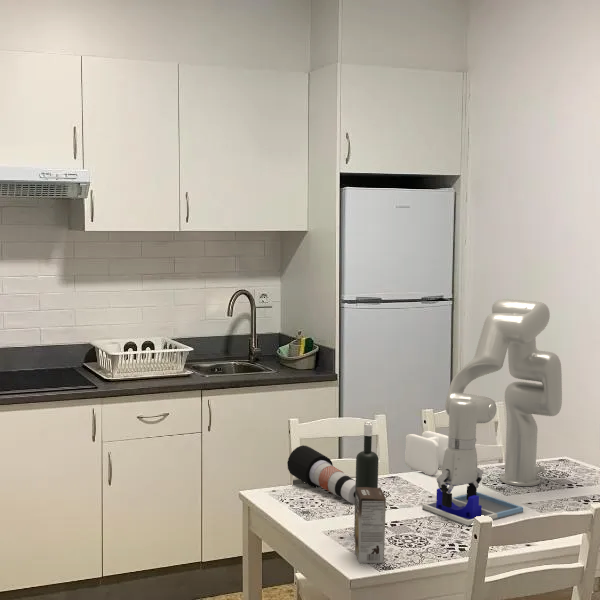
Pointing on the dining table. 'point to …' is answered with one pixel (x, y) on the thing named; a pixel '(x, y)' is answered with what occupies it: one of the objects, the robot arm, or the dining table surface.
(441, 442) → the organizer
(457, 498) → the grey divided tray
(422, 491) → the dining table surface
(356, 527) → the coffee box
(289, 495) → the dining table surface
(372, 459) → the wine bottle
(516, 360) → the robot arm
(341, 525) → the dining table surface
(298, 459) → the telephoto camera lens
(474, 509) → the blue u-shaped cradle
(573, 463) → the dining table surface
